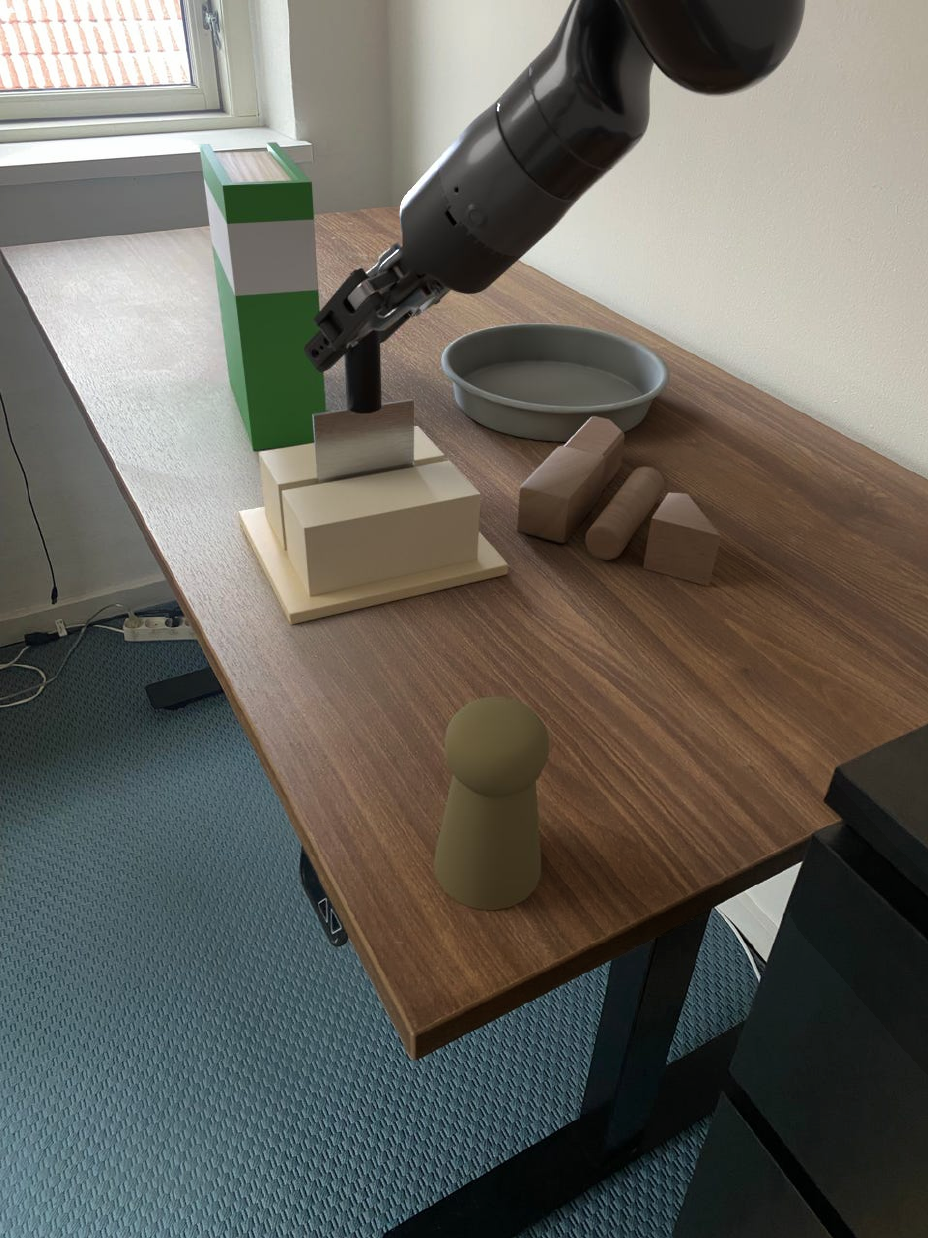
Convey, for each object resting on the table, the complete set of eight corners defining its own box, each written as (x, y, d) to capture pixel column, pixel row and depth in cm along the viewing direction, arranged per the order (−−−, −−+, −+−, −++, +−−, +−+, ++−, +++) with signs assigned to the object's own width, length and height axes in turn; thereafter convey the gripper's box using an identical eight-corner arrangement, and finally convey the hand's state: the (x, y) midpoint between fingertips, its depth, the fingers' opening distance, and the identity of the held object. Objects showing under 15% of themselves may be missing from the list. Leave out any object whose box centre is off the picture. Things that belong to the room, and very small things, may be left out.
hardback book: (229, 381, 104) (199, 144, 89) (295, 374, 106) (276, 142, 91) (253, 450, 90) (222, 185, 76) (327, 441, 92) (311, 181, 78)
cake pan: (606, 473, 89) (612, 430, 86) (396, 410, 99) (396, 370, 96) (696, 390, 106) (703, 352, 103) (509, 343, 116) (511, 307, 113)
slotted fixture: (290, 625, 68) (282, 544, 64) (238, 521, 80) (229, 447, 76) (508, 574, 75) (513, 498, 70) (430, 484, 86) (431, 414, 82)
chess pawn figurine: (420, 896, 50) (421, 750, 43) (448, 812, 54) (453, 669, 48) (531, 921, 49) (549, 776, 42) (550, 834, 53) (569, 691, 47)
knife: (322, 494, 71) (311, 312, 63) (313, 478, 73) (300, 300, 64) (419, 476, 74) (420, 299, 65) (407, 462, 76) (406, 288, 67)
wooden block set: (514, 479, 76) (590, 401, 89) (510, 538, 79) (583, 455, 92) (719, 532, 70) (767, 440, 83) (705, 593, 73) (754, 496, 86)
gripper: (513, 128, 60) (371, 278, 72) (385, 162, 50) (244, 330, 62) (577, 227, 61) (427, 359, 73) (465, 280, 52) (311, 423, 63)
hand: (343, 345), depth 68 cm, fingers open, 6 cm apart
